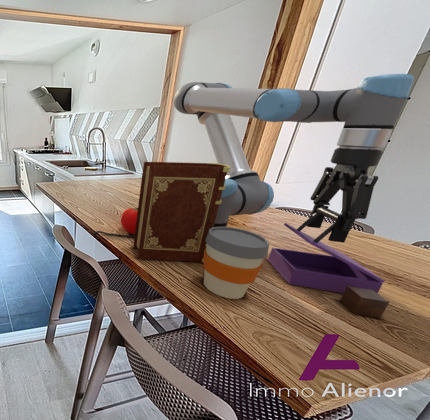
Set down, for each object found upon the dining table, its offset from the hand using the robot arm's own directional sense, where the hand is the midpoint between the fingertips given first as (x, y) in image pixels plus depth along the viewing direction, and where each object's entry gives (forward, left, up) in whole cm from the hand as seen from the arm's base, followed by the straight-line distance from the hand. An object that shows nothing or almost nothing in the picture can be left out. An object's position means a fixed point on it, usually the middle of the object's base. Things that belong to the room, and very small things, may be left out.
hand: (323, 233), depth 65 cm
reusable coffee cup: (-24, -15, -13) cm, 32 cm away
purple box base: (+2, 0, -13) cm, 13 cm away
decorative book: (-36, -1, -13) cm, 39 cm away
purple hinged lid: (+2, 0, -5) cm, 5 cm away
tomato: (-48, +14, -13) cm, 52 cm away
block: (+4, -13, -13) cm, 19 cm away
